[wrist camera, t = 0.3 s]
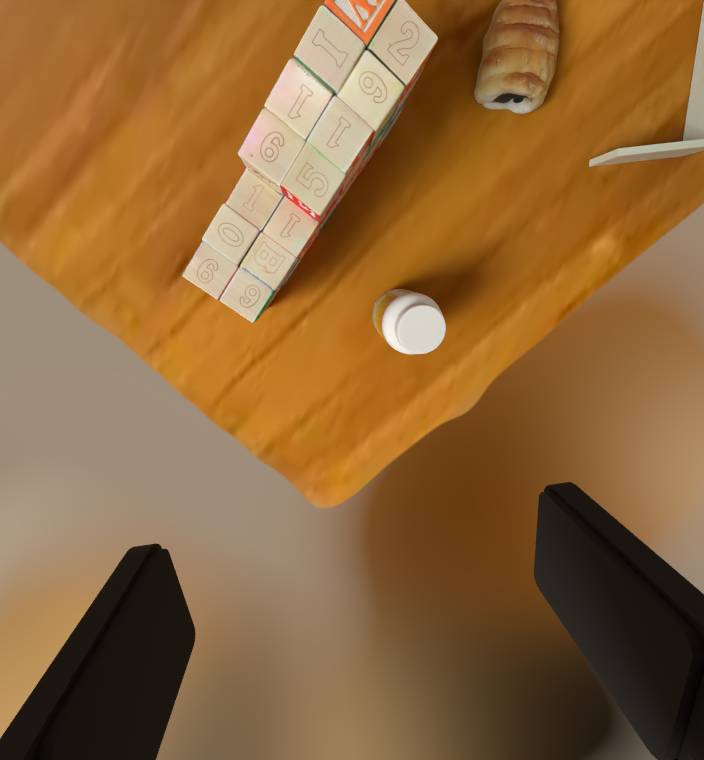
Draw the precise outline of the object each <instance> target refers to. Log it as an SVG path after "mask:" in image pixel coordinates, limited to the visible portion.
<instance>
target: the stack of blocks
mask: <svg viewBox="0 0 704 760" xmlns="http://www.w3.org/2000/svg"><path fill="white" fill-rule="evenodd" d="M437 41H438V37H437V35H436V34H435V33H434V32H433V31H432V30H431V29H430V28H429V27H428V26H427V25H426V23H425V22H424V21H423V20H422V19H421V18H420V17H419V16H418V15H417V14H416V13H415V12H414V10H413V9H412V8H411V7H410V6H409V5H408V4H407V2H406V1H405V0H325V3H324V6H323V5H322V6H320V7H319V9H318V11H317V13H316V15H315V16H314V18H313V20H312V22H311V24H310V25H309V27H308V29H307V31H306V33H305V34H304V36H303V38H302V40H301V42H300V43H299V45H298V47H297V49H296V51H295V53H294V58H293V59H290V60H288V62H287V64H286V66H285V67H284V69H283V71H282V73H281V75H280V77H279V78H278V80H277V82H276V84H275V86H274V87H273V89H272V91H271V93H270V95H269V96H268V98H267V100H266V102H265V106H264V108H263V109H262V111H261V112H260V114H259V116H258V117H257V119H256V121H255V123H254V125H253V126H252V128H251V130H250V132H249V134H248V135H247V137H246V139H245V141H244V143H243V144H242V146H241V148H240V150H239V152H238V155H239V156H240V157H241V159H242V161H243V162H244V164H245V165H246V167H247V168H246V169H245V170H244V172H243V174H242V175H241V177H240V179H239V180H238V182H237V184H236V185H235V187H234V189H233V190H232V192H231V194H230V195H229V197H228V199H227V200H226V202H225V203H224V204H223V205H222V206H221V208H220V209H219V211H218V213H217V214H216V216H215V218H214V219H213V221H212V222H211V224H210V226H209V228H208V229H207V231H206V233H205V234H204V236H203V238H202V243H201V245H200V246H199V248H198V249H197V251H196V253H195V254H194V256H193V258H192V259H191V261H190V263H189V264H188V266H187V268H186V269H185V271H184V273H183V275H182V276H183V277H185V278H186V279H187V280H189V281H190V282H192V283H193V284H195V285H196V286H198V287H199V288H201V289H202V290H204V291H205V292H207V293H208V294H210V295H211V296H213V297H214V298H215V299H218V300H220V301H221V302H223V303H224V304H225V305H227V306H228V307H230V308H231V309H233V310H234V311H236V312H237V313H239V314H240V315H242V316H243V317H245V318H246V319H247V320H249V321H251V322H252V323H254V322H255V321H256V320H257V319H259V317H260V316H261V314H263V312H264V311H266V309H268V307H269V306H270V304H271V302H272V301H273V299H274V298H275V296H276V295H277V293H278V292H279V290H280V289H281V287H282V286H283V285H284V284H285V283H286V282H287V280H288V279H289V277H290V276H291V274H292V273H293V271H294V270H295V268H296V267H297V265H298V264H299V262H300V261H301V259H302V258H303V257H304V255H305V254H306V252H307V251H308V249H309V248H310V247H311V245H312V244H313V242H314V241H315V239H316V238H317V236H318V235H319V232H320V230H321V229H322V228H323V226H324V225H325V223H326V222H327V220H328V219H329V217H330V216H331V214H332V213H333V212H334V210H335V209H336V207H337V205H338V204H339V202H340V201H341V199H342V198H343V196H344V195H345V194H346V192H347V191H348V189H349V188H350V186H351V185H352V183H353V182H354V180H355V179H356V178H357V177H358V176H359V174H360V173H361V171H362V170H363V169H364V167H365V166H366V164H367V163H368V161H369V160H370V158H371V157H372V155H373V154H374V153H375V151H376V150H377V148H378V147H379V146H380V145H381V143H382V142H383V140H384V139H385V137H386V136H387V134H388V133H389V131H390V130H391V129H392V127H393V126H394V124H395V123H396V121H397V119H398V117H399V115H400V113H401V112H402V110H403V108H404V104H405V102H406V100H407V98H408V96H409V94H410V92H411V91H412V89H413V88H414V86H415V84H416V82H417V80H418V79H419V77H420V75H421V73H422V70H423V69H424V66H425V64H426V62H427V60H428V59H429V57H430V55H431V53H432V51H433V49H434V47H435V45H436V43H437Z"/></svg>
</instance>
